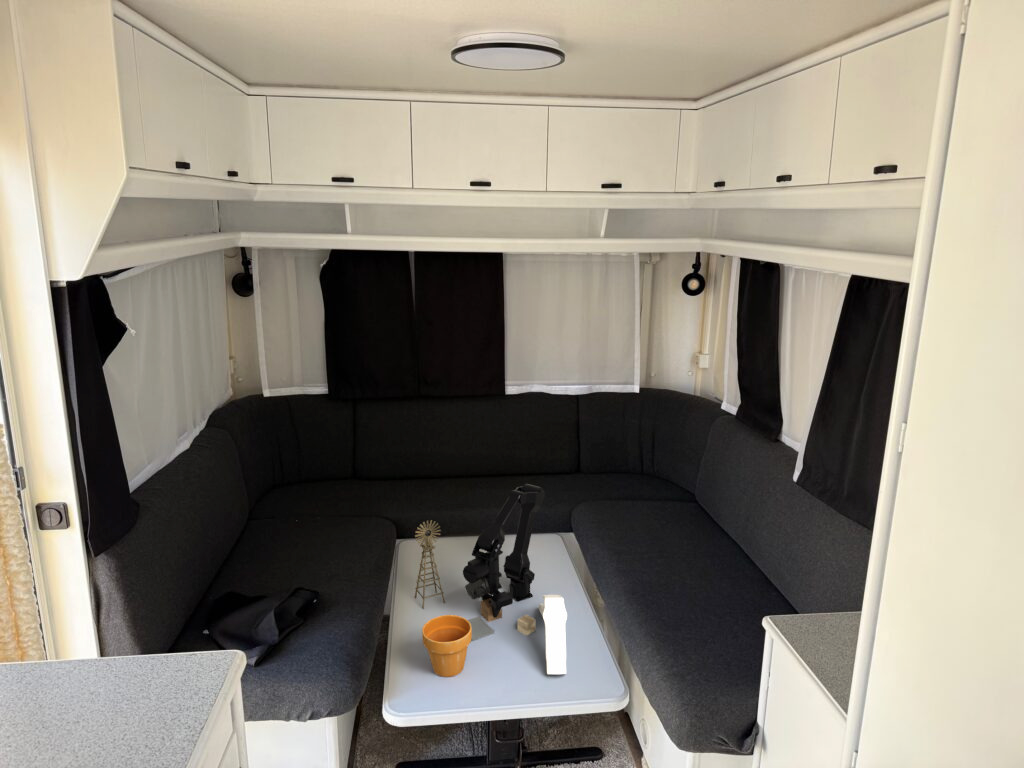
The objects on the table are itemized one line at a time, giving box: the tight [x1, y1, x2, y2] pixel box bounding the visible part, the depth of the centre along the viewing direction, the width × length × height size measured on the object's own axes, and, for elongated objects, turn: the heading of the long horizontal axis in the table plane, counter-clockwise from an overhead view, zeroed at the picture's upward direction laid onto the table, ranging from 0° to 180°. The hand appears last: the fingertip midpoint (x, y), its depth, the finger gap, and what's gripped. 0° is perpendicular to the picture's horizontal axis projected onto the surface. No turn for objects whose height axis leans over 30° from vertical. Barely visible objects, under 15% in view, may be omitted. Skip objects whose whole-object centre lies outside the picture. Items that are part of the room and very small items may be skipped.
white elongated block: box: [538, 594, 568, 675], centre depth 214 cm, size 7×33×21 cm, turn 0°
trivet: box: [467, 616, 495, 642], centre depth 221 cm, size 8×10×1 cm
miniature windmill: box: [414, 519, 446, 610], centre depth 235 cm, size 9×8×30 cm
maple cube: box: [517, 614, 536, 637], centre depth 220 cm, size 4×4×4 cm
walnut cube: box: [480, 598, 503, 623], centre depth 228 cm, size 5×5×5 cm
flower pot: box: [421, 614, 472, 678], centre depth 201 cm, size 14×14×13 cm
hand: (491, 613), depth 228 cm, fingers closed on walnut cube, 5 cm apart
